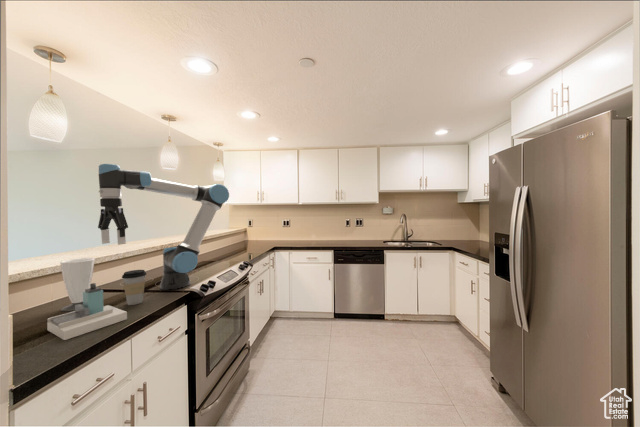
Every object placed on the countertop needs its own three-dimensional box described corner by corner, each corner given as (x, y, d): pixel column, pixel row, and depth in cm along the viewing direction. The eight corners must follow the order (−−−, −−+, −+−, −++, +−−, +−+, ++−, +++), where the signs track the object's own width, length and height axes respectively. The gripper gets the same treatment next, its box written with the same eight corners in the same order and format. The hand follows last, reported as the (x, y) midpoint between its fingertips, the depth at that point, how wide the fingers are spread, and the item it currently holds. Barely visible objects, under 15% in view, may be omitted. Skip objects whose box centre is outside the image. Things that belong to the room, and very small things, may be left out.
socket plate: (108, 312, 104) (108, 301, 104) (127, 319, 97) (126, 308, 97) (47, 330, 88) (47, 318, 88) (64, 340, 81) (64, 327, 81)
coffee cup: (133, 307, 109) (133, 274, 109) (116, 305, 111) (116, 273, 111) (151, 299, 119) (151, 269, 119) (136, 298, 121) (135, 269, 121)
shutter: (79, 313, 95) (79, 303, 95) (89, 317, 91) (89, 307, 91) (51, 321, 88) (51, 311, 88) (60, 326, 84) (60, 315, 84)
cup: (52, 312, 105) (52, 263, 105) (74, 302, 116) (73, 258, 116) (83, 310, 107) (83, 261, 107) (101, 300, 118) (101, 257, 118)
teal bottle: (83, 322, 94) (82, 284, 94) (98, 317, 98) (97, 281, 98) (88, 324, 92) (87, 286, 92) (103, 320, 96) (103, 282, 96)
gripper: (87, 199, 112) (89, 244, 113) (116, 196, 102) (119, 245, 103) (106, 199, 119) (109, 241, 120) (135, 196, 109) (138, 243, 109)
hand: (113, 243), depth 111 cm, fingers open, 13 cm apart
